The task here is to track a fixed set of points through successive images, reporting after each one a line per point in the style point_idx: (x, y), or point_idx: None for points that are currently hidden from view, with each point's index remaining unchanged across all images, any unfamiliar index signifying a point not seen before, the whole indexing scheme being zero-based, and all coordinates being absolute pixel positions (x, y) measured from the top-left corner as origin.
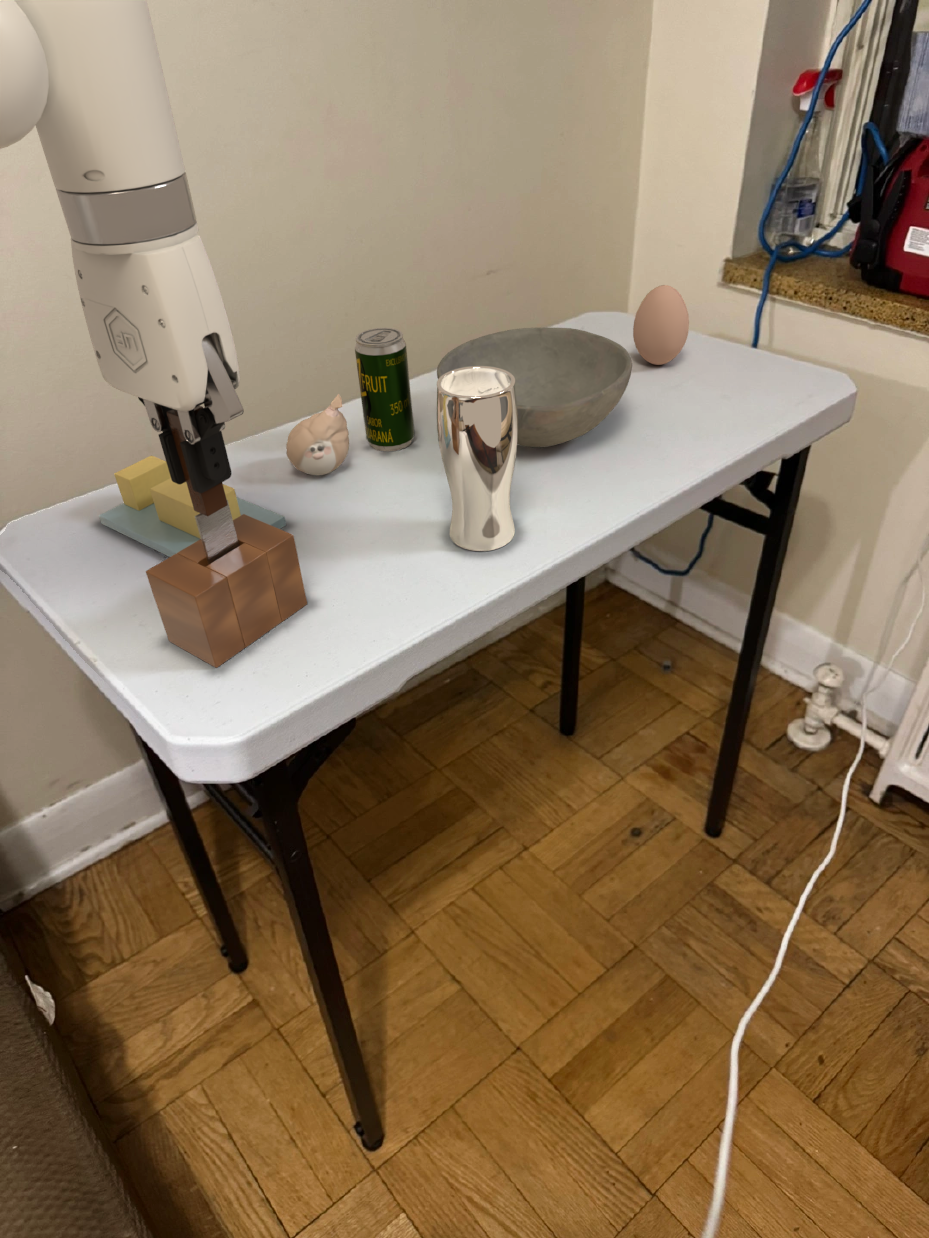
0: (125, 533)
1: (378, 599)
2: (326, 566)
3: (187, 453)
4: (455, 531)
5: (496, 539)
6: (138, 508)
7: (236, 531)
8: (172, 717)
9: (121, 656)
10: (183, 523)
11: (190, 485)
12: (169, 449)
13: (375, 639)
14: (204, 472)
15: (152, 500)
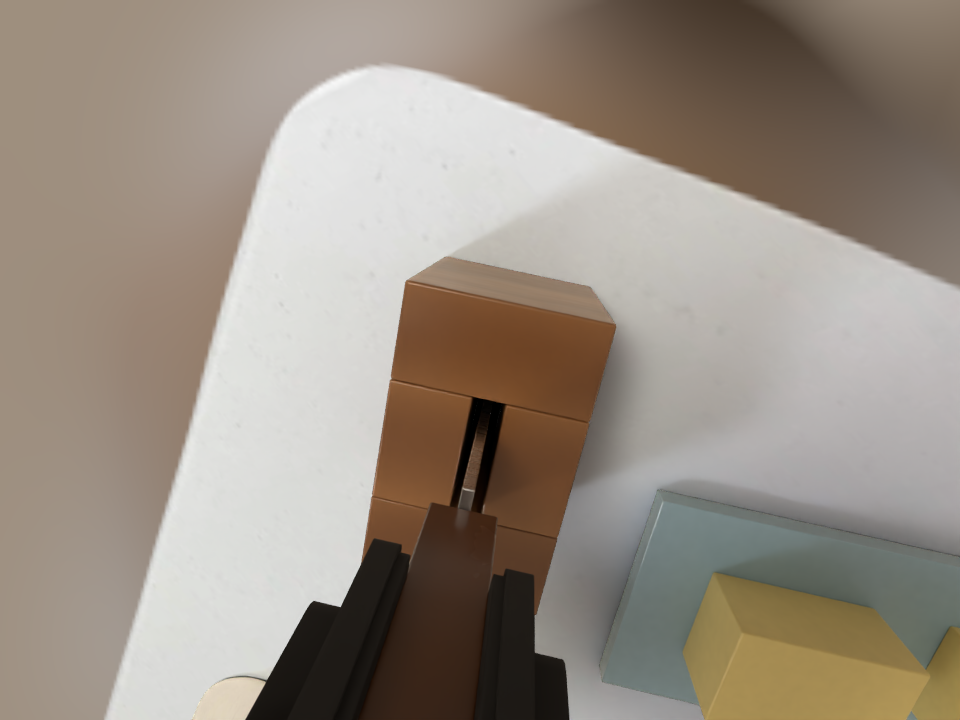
0: (936, 554)
1: (301, 523)
2: None
3: (304, 683)
4: None
5: (198, 706)
6: (954, 630)
7: (499, 547)
8: (430, 102)
9: (658, 210)
10: (789, 603)
11: (467, 579)
12: (482, 707)
13: (238, 429)
14: (327, 622)
15: (937, 663)
